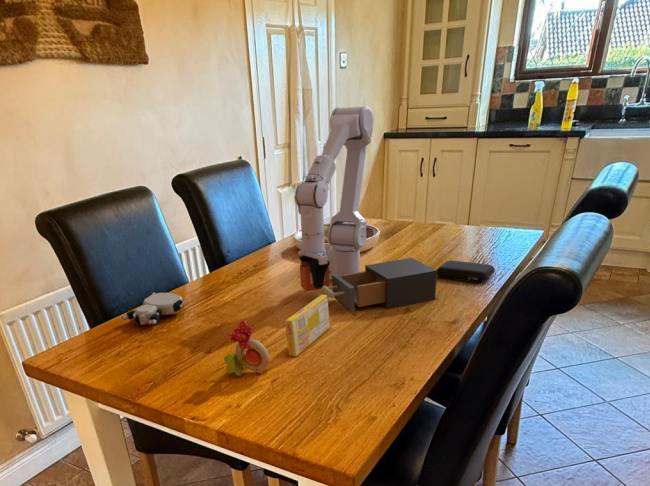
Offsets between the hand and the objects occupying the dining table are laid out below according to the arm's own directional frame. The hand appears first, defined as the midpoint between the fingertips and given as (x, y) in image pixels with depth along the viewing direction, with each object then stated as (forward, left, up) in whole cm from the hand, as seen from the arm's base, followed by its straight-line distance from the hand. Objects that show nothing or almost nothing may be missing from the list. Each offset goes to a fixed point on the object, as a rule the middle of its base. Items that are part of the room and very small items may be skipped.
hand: (315, 284), depth 137 cm
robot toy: (-23, -36, -4) cm, 43 cm away
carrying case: (+22, +37, -4) cm, 43 cm away
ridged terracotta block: (0, 0, -1) cm, 1 cm away
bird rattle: (+20, -39, -4) cm, 44 cm away
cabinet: (+17, +14, -4) cm, 22 cm away
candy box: (+19, -21, -4) cm, 29 cm away
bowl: (-31, +41, -4) cm, 52 cm away
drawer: (+12, +3, -3) cm, 13 cm away
